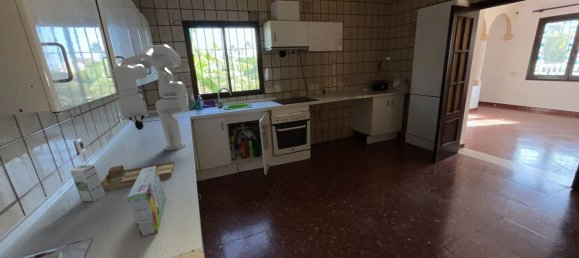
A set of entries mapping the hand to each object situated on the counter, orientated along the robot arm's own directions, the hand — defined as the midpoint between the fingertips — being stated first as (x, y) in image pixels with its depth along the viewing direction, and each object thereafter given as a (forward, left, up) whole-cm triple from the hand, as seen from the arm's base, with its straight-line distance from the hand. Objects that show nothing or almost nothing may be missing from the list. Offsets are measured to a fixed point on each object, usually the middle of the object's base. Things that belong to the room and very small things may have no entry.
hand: (140, 128), depth 117 cm
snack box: (+47, +9, -22) cm, 52 cm away
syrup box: (+21, -18, -22) cm, 36 cm away
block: (+6, -13, -20) cm, 25 cm away
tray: (+9, -3, -22) cm, 24 cm away
